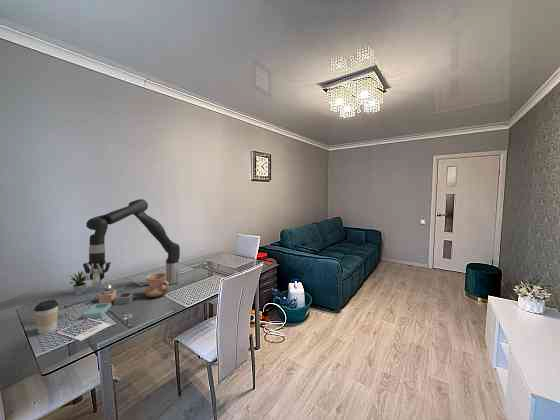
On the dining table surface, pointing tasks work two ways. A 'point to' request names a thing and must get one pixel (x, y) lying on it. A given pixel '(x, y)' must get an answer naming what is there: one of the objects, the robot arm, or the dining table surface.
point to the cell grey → (107, 289)
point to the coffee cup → (46, 316)
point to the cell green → (96, 277)
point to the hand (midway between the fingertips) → (97, 279)
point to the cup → (107, 297)
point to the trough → (97, 310)
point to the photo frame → (89, 332)
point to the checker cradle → (124, 298)
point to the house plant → (79, 282)
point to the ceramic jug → (156, 285)
